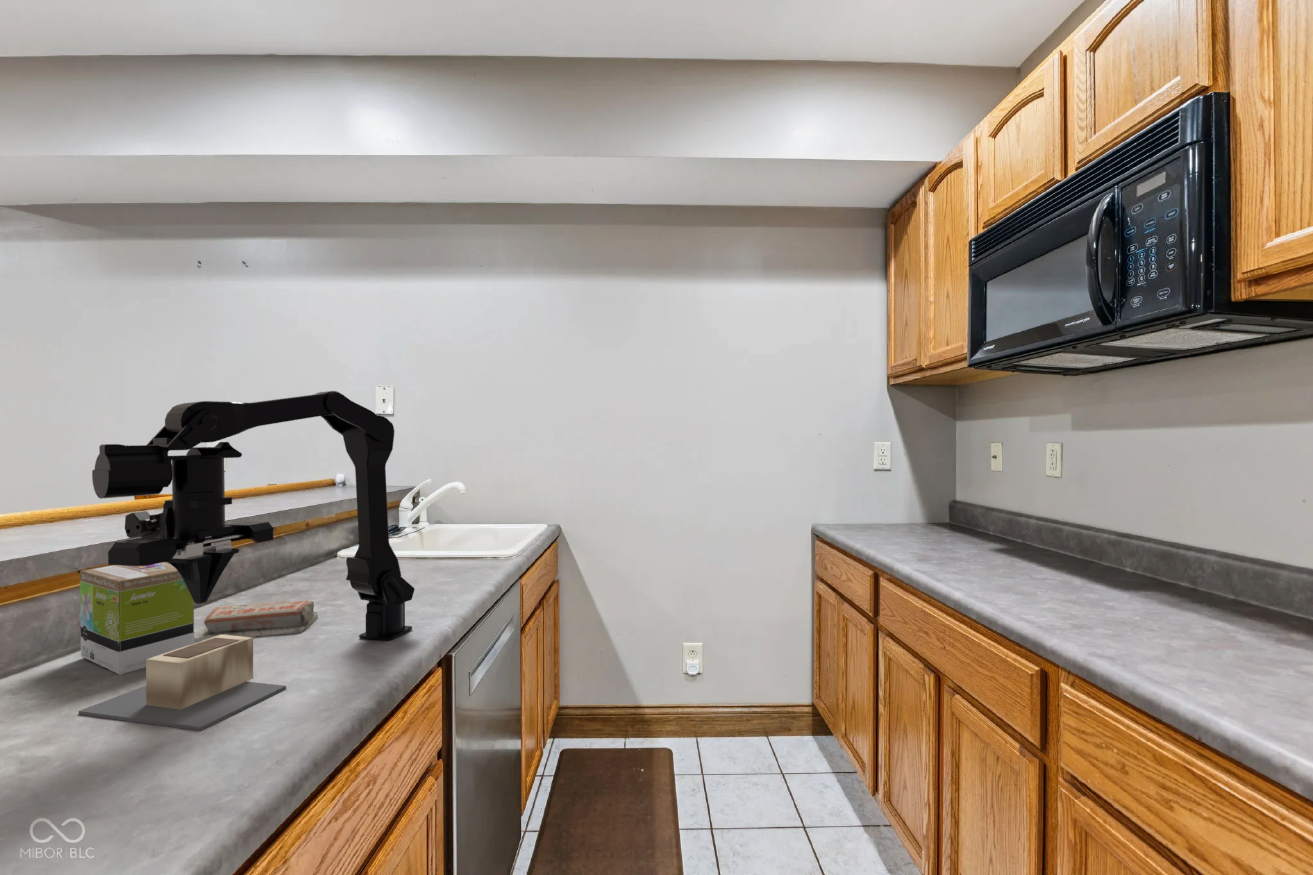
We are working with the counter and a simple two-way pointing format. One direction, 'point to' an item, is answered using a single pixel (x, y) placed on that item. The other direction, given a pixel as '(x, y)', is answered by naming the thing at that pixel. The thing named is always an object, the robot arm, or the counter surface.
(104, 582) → the tea box
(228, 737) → the counter surface
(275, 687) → the rubber mat
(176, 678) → the birch block
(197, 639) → the packaged product
